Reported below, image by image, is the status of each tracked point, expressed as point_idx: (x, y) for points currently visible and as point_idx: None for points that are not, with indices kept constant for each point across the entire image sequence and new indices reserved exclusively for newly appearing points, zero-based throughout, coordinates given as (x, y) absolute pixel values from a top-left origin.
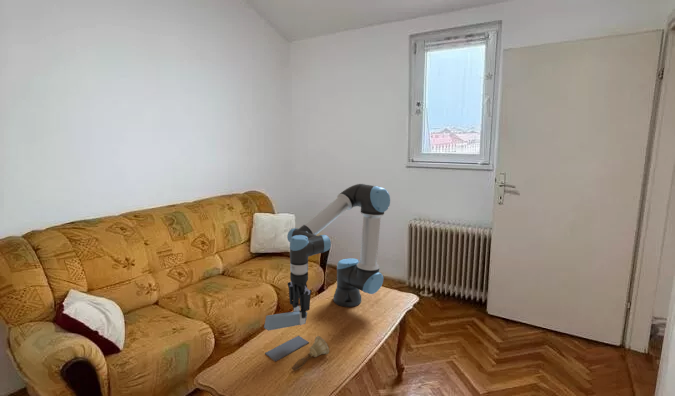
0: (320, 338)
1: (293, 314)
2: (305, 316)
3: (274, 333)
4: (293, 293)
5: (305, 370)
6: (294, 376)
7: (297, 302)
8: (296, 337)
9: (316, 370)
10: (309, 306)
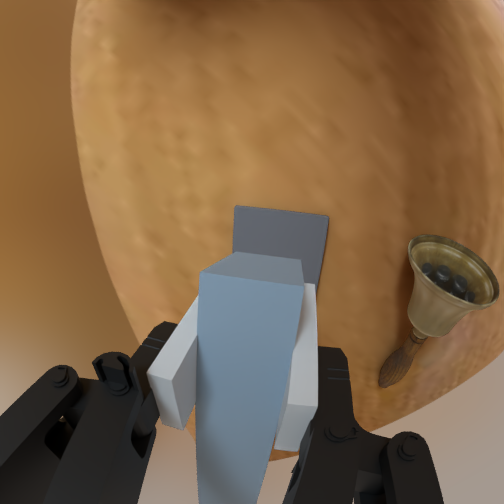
0: (478, 309)
1: (258, 462)
2: (344, 363)
3: (134, 261)
4: (10, 492)
5: (418, 354)
6: (398, 387)
7: (128, 444)
8: (240, 229)
9: (451, 332)
10: (437, 488)
